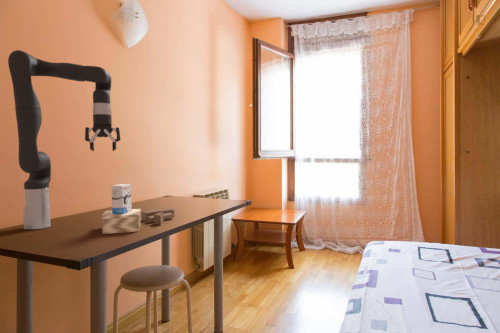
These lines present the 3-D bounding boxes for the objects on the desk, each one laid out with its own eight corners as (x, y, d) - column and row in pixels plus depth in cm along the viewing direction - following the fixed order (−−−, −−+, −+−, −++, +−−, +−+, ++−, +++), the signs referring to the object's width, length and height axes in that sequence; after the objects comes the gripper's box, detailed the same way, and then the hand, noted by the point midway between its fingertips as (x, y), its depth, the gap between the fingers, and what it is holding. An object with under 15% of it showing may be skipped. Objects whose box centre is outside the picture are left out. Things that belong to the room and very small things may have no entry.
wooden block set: (139, 209, 161) (171, 205, 174) (139, 221, 161) (172, 216, 174) (158, 214, 149) (191, 208, 162) (158, 226, 150) (192, 220, 163)
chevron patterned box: (101, 234, 136) (100, 216, 136) (106, 226, 150) (105, 210, 150) (139, 231, 140) (139, 214, 139) (141, 224, 154) (140, 208, 154)
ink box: (123, 214, 140) (122, 185, 139) (111, 214, 141) (110, 185, 140) (132, 210, 148) (131, 183, 148) (121, 210, 149) (120, 183, 148)
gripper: (82, 113, 145) (84, 151, 146) (118, 113, 149) (119, 150, 150) (86, 114, 153) (87, 151, 153) (120, 115, 156) (121, 150, 157)
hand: (103, 150), depth 152 cm, fingers open, 8 cm apart
